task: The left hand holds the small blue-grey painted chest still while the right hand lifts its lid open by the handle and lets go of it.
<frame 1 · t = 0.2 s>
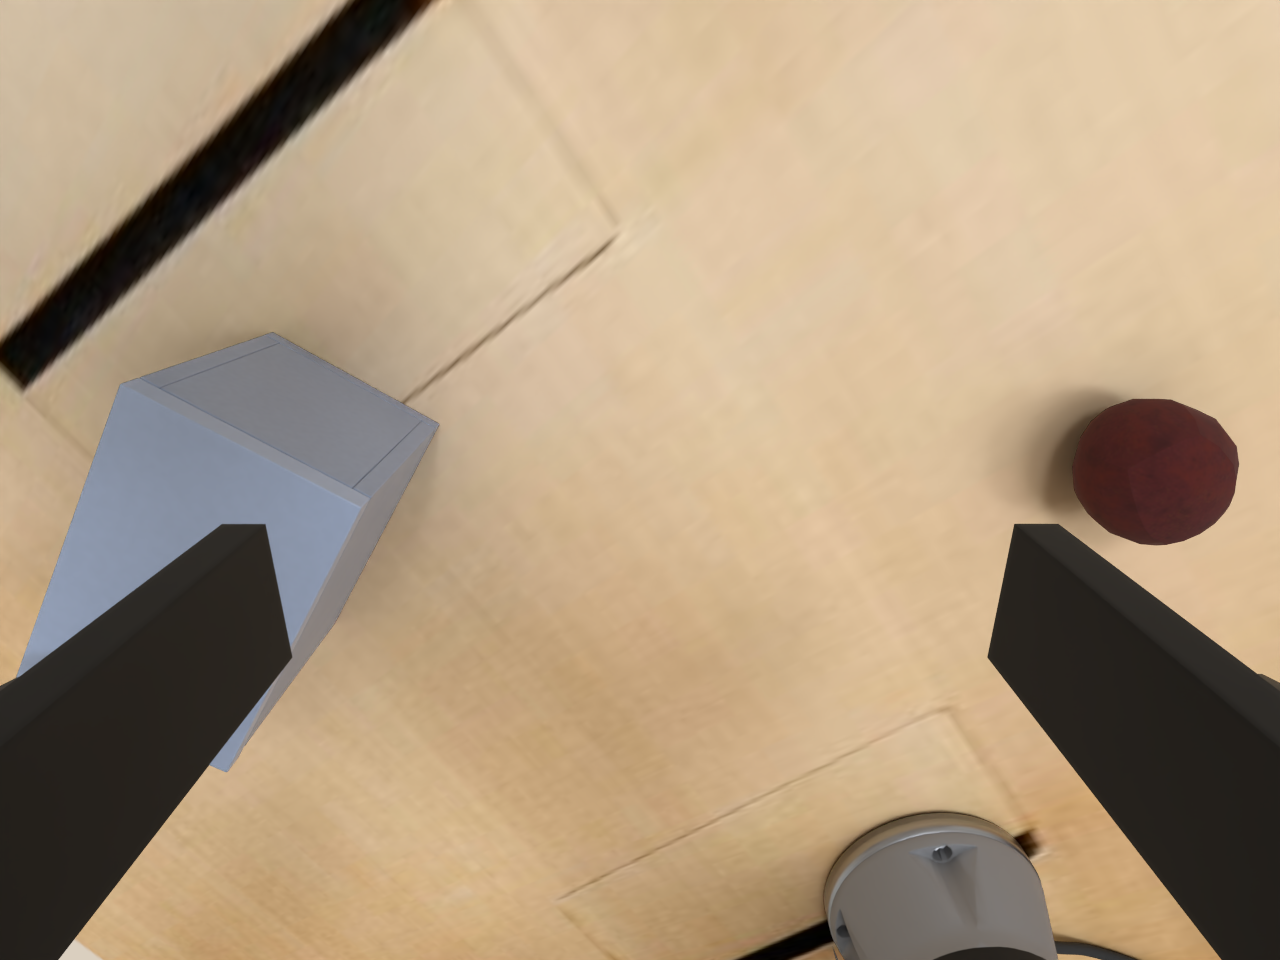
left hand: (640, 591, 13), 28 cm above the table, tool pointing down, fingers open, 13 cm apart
lid: (127, 643, 28), point 16 cm above the table, hinge at 0.0°
chest: (305, 489, 42), on the table
dark red ball: (1108, 447, 41), on the table
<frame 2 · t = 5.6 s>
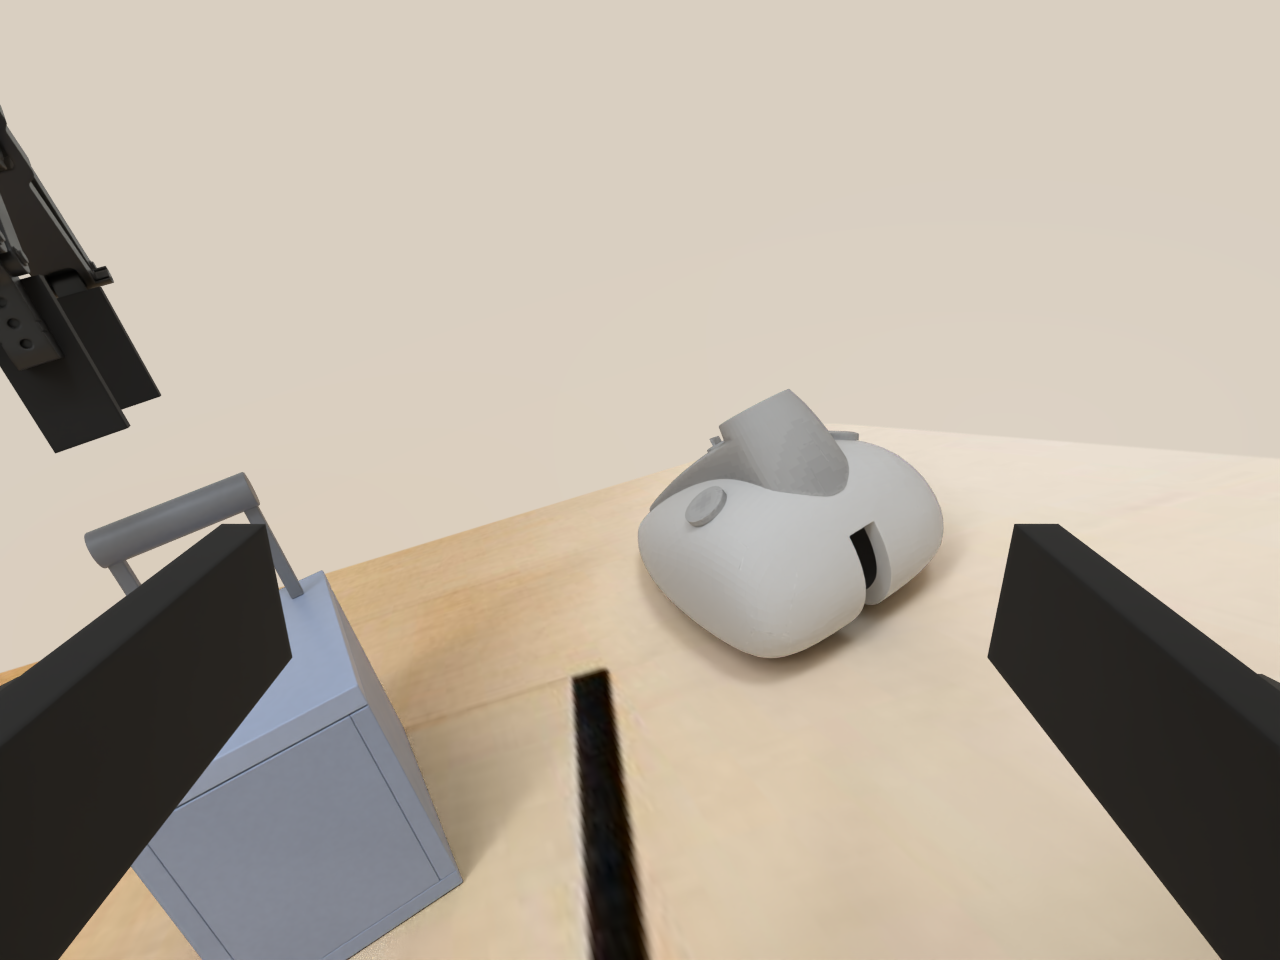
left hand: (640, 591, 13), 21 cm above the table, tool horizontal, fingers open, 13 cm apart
right hand: (118, 419, 36), fingers open, 13 cm apart
projector: (761, 581, 52), on the table
lid: (203, 609, 34), point 16 cm above the table, hinge at 0.0°
chest: (343, 843, 40), on the table
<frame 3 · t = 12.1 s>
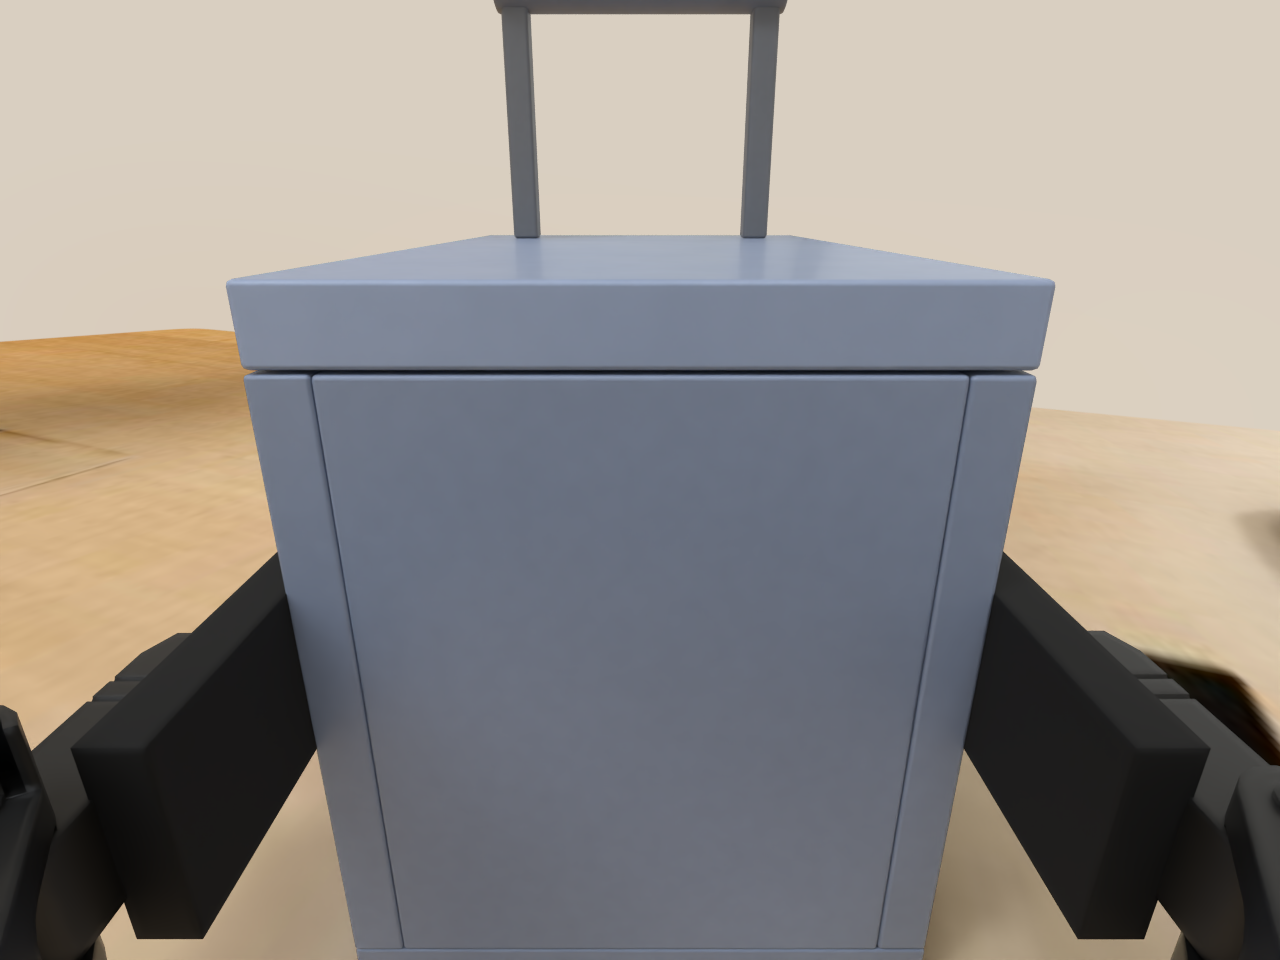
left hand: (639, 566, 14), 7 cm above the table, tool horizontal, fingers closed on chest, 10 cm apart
lid: (640, 79, 15), point 16 cm above the table, hinge at 0.0°
chest: (640, 705, 20), on the table, touching left hand
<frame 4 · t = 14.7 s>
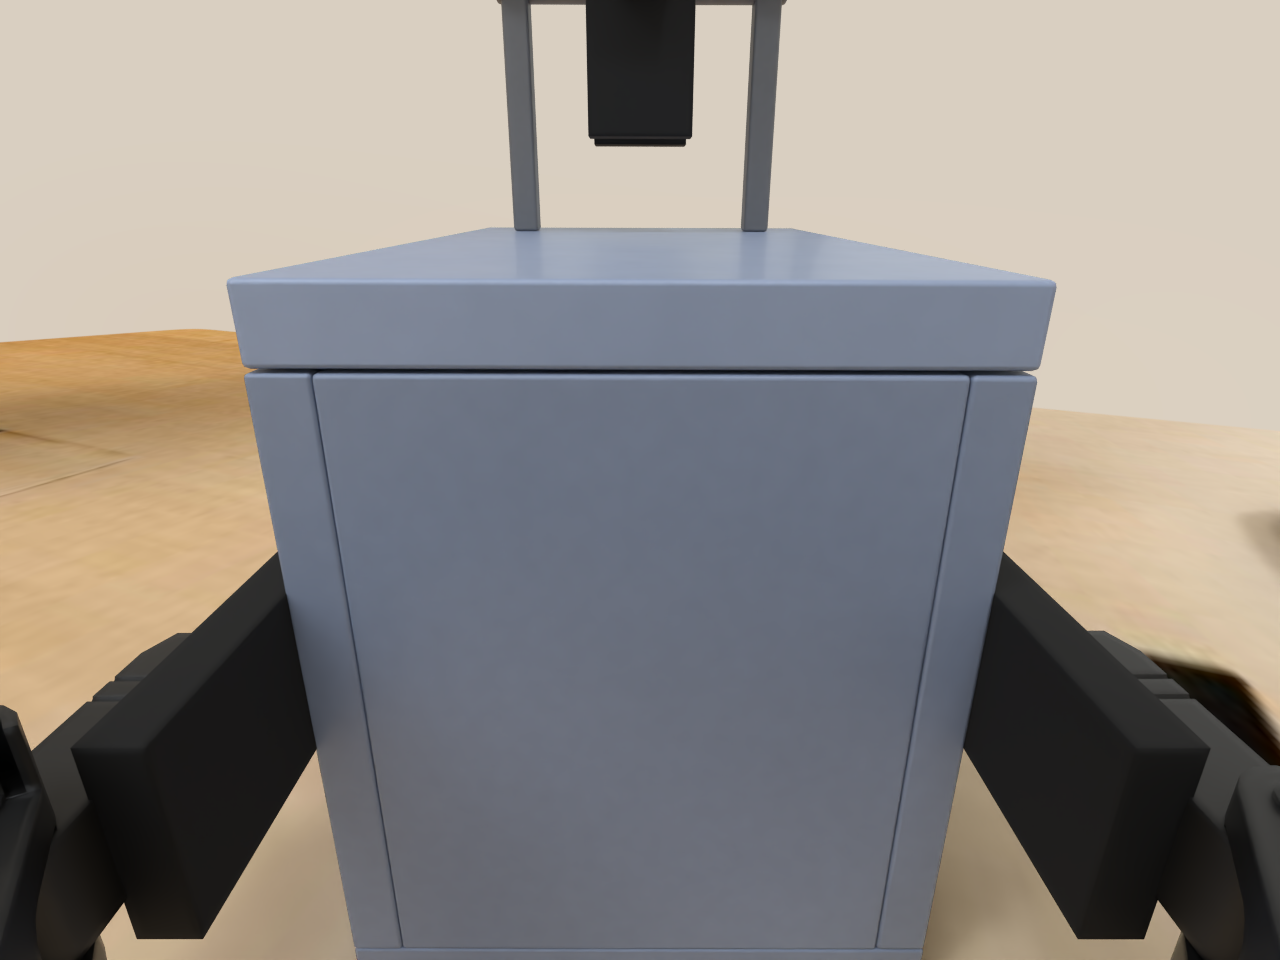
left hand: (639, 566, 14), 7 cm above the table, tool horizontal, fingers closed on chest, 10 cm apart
lid: (641, 72, 15), point 16 cm above the table, hinge at 0.8°, touching right hand
chest: (639, 705, 20), on the table, touching left hand
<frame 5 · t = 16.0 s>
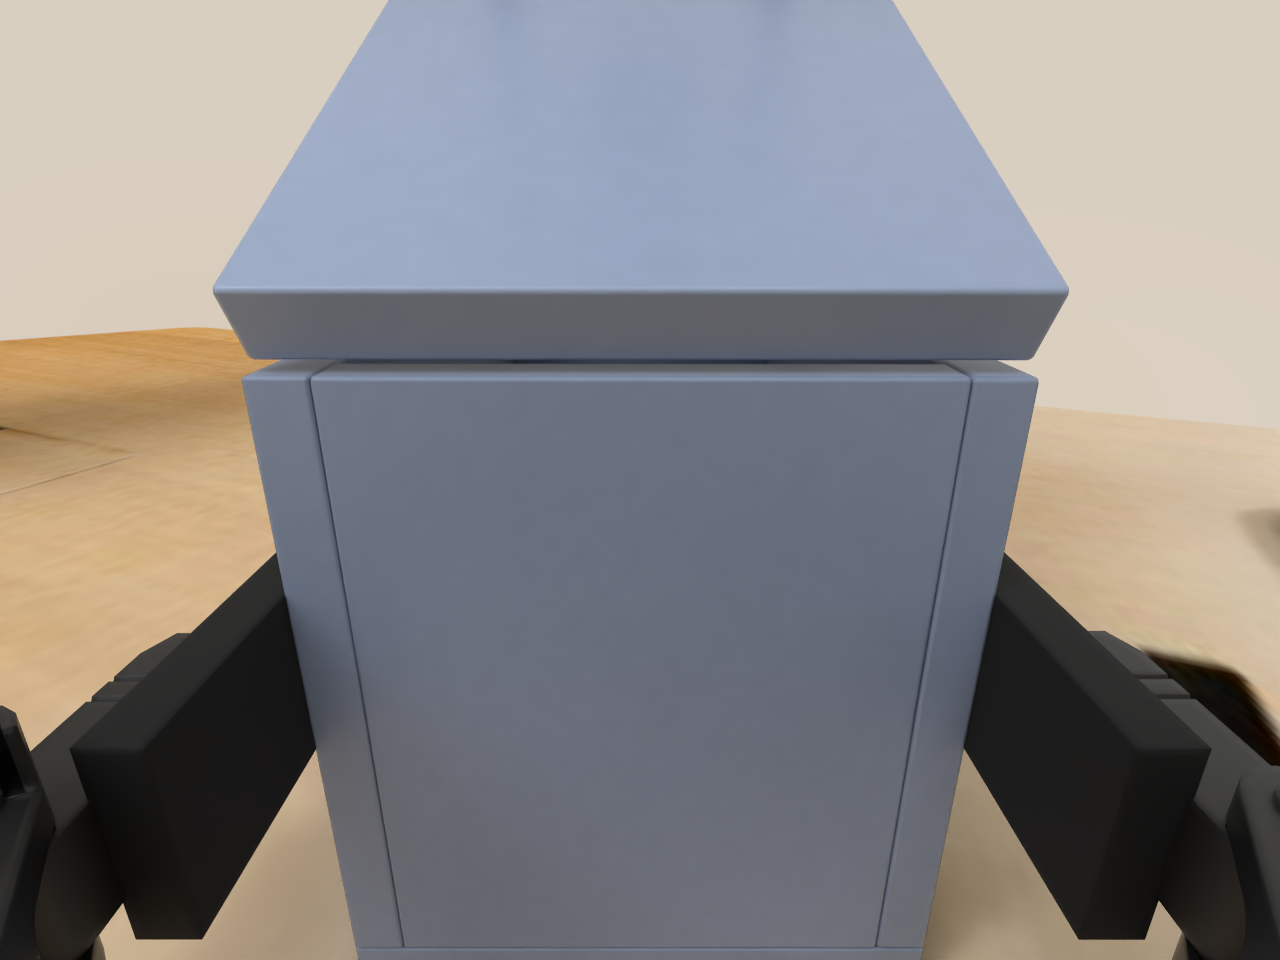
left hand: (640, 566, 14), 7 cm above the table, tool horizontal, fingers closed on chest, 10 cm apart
chest: (639, 703, 20), on the table, touching left hand
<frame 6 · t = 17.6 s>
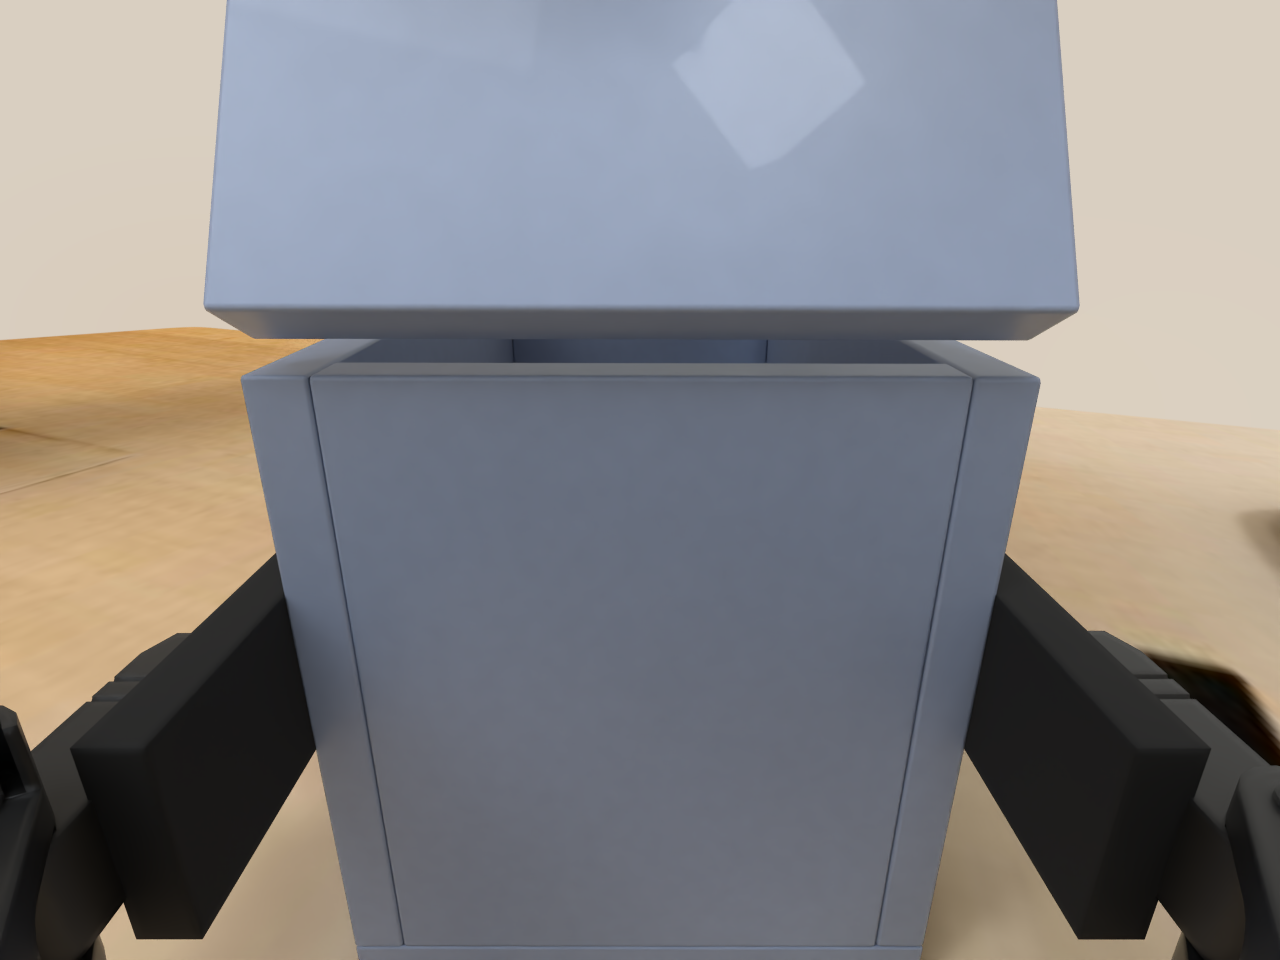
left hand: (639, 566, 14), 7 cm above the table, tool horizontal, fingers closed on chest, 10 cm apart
chest: (639, 701, 20), on the table, touching left hand
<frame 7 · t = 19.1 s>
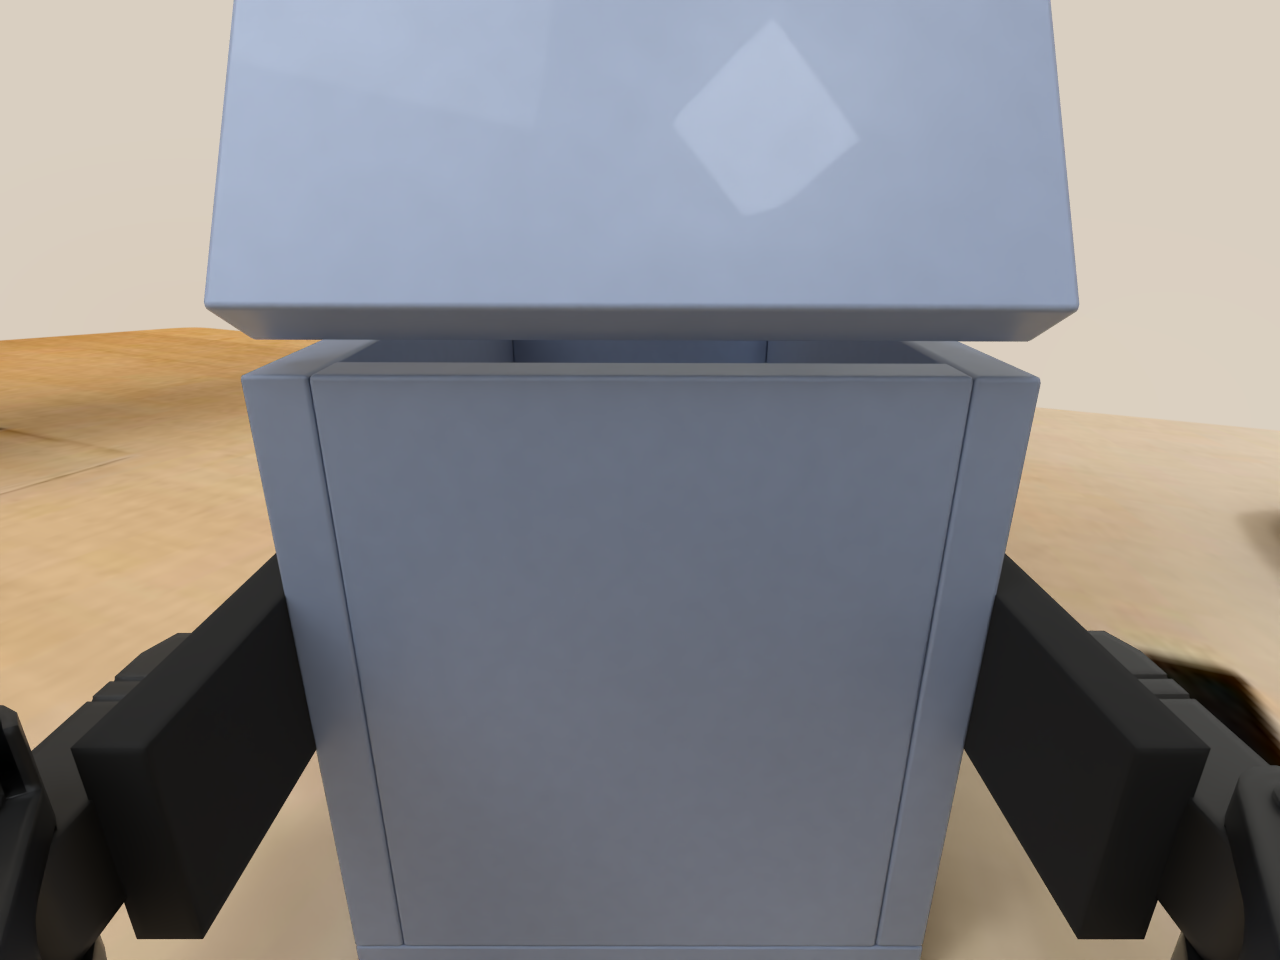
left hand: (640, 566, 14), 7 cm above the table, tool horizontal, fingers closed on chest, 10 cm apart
chest: (639, 701, 20), on the table, touching left hand
when the left hand's fingers open (7 cm above the table, at t = 21.5 s): chest stays where it is, on the table.
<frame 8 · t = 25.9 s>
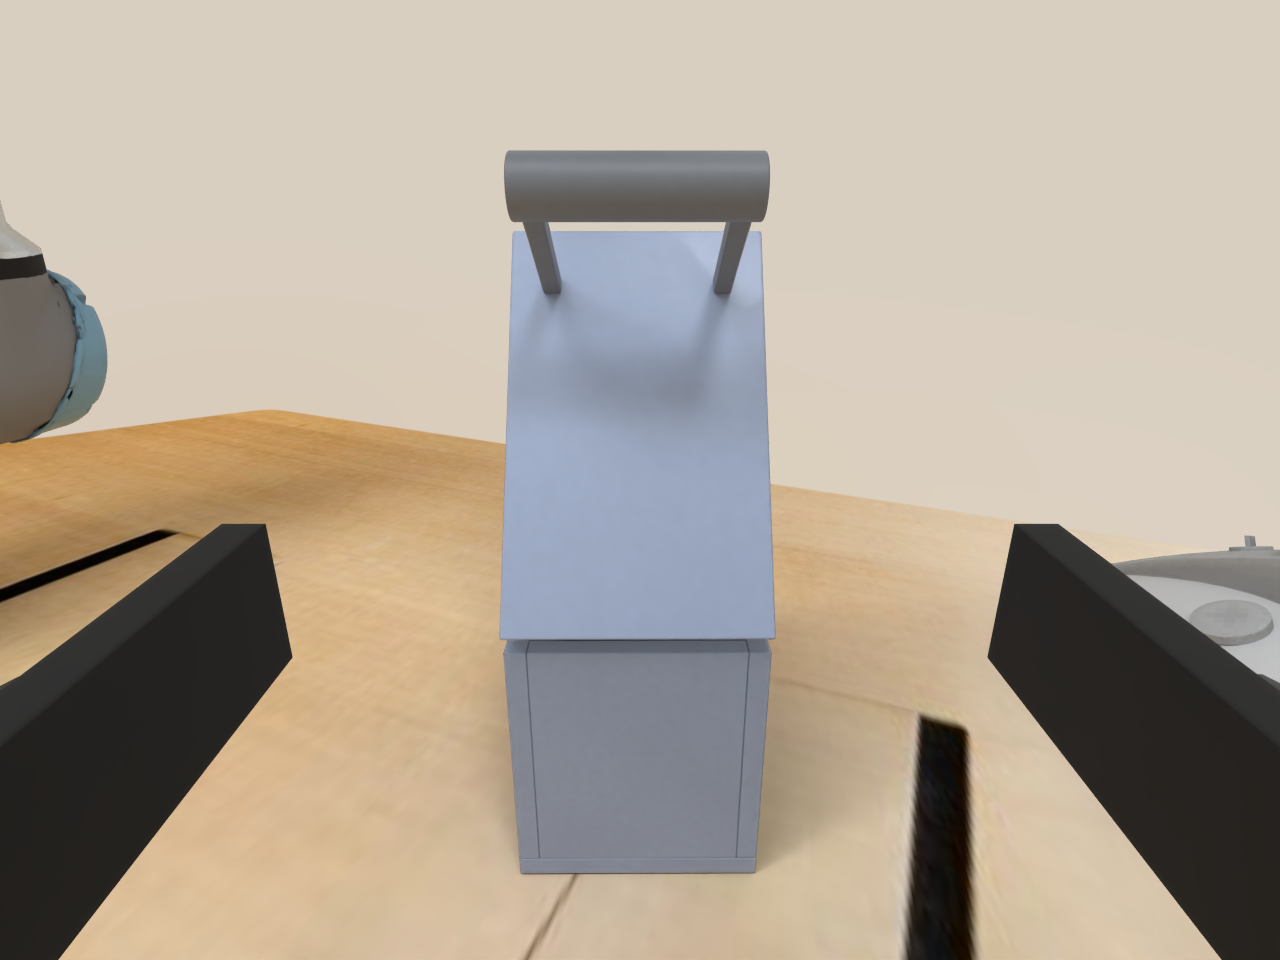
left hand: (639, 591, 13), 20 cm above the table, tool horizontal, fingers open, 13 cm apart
projector: (1209, 735, 39), on the table
lid: (637, 398, 24), point 21 cm above the table, hinge at 59.0°
chest: (637, 747, 38), on the table
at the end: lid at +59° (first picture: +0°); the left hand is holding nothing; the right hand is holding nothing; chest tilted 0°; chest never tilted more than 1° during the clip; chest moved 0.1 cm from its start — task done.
